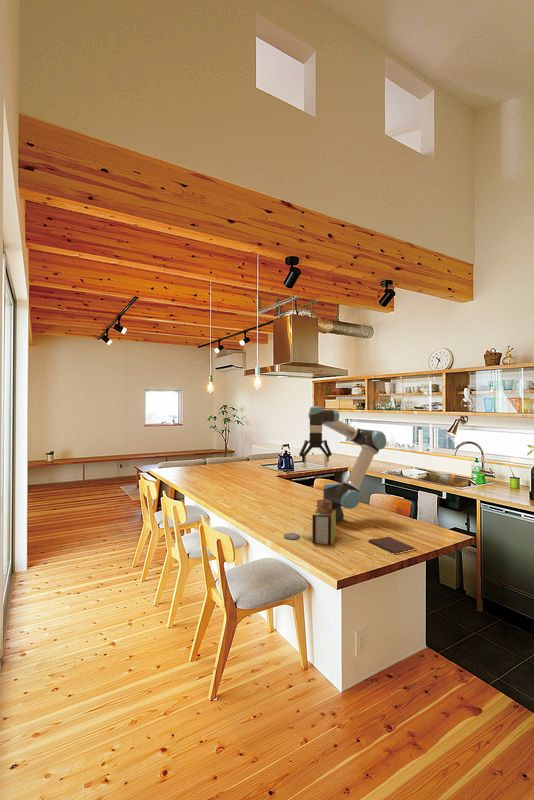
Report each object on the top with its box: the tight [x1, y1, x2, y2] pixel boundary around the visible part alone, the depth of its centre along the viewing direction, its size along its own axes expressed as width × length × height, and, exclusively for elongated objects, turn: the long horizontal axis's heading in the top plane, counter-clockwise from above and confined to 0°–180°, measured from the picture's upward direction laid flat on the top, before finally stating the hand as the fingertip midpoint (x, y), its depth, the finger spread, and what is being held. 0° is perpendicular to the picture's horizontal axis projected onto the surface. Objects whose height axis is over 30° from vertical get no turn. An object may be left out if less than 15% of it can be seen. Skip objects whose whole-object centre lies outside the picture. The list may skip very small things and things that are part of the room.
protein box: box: [311, 509, 337, 546], centre depth 218 cm, size 10×15×16 cm
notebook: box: [368, 536, 416, 555], centre depth 209 cm, size 15×20×2 cm
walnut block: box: [316, 499, 332, 513], centre depth 218 cm, size 6×6×6 cm
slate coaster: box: [283, 532, 301, 541], centre depth 221 cm, size 9×9×1 cm
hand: (315, 467), depth 236 cm, fingers open, 13 cm apart
